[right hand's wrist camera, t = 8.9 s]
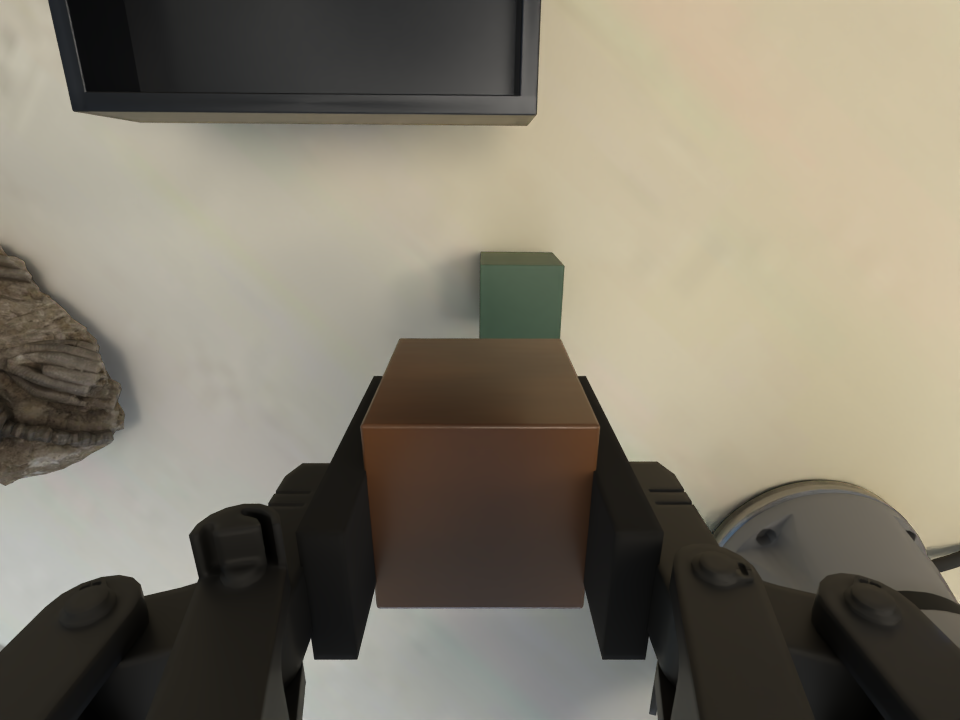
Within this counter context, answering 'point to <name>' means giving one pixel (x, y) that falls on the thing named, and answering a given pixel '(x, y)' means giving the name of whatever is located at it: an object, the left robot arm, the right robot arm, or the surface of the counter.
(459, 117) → the pan
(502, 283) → the green block
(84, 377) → the fossil
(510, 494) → the walnut block
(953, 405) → the counter surface
